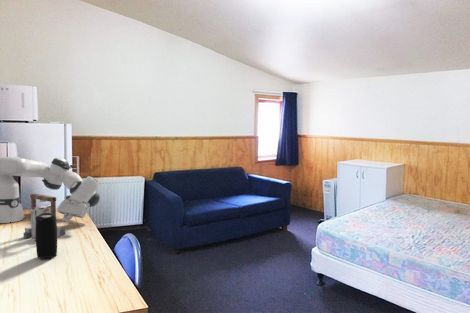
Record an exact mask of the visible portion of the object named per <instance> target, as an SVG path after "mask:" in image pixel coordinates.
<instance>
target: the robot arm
mask: <svg viewBox="0 0 470 313" xmlns="http://www.w3.org/2000/svg"><path fill="white" fill-rule="evenodd" d="M70 169H71V166H70V164H69V162H68V161H67V159H64V158H61V157H55V158H53V160H52V161H51V163H50V165H48V164H47V163H45V162H43V161H41V160H35V159H30V158H29V159H27V158H24V157H23V158H22V157H17V156H0V224H9V223H10V222H11V223H17V222H20V221H23V220H24V218H26V215H25V214H24V211H23V204H21V196H20V186H19V183H18V182H17V180H15V179H14V177H15V176H16V177H27V178H28V177H29V178H42V180H41V181H42V182H43V185H44V186H45V187H46V188H47V189H49V190H51V191H52V190H53V191H55V190H60V189H61V187H62V186H63V185H64V188H66V189H68V190H69V195H66V196H64V199H63V200H62V201H61V203H60V204H59V206H58V207H57V209H56V212H58V213H59V214H60V215H61V214H62V215H63V218H62V219H61V221H62V222H64V223H68V222H69V221H70V220H71V219H72V218H73V217H75V218H79V219H83V218H84V217H85V216H86V214H87V213H88V211H89V208H92V207H95V206H96V205H98V203H99V202H100V193H98V192H96V190H97V188H98V186H99V181H98V180H97V179H96V178H94V177H93V176H89V175H88V176H87V177H86V178H85V179H84V180H83V178H82V177H81V175H79V174H78V173H76V172H74V171H71V170H70ZM62 184H63V185H62Z"/></svg>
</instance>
